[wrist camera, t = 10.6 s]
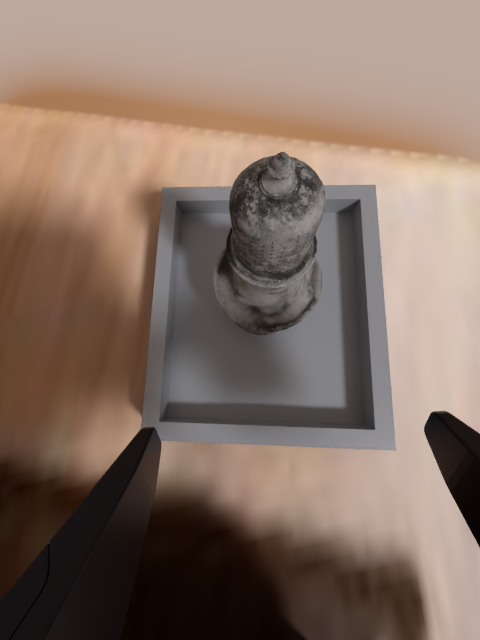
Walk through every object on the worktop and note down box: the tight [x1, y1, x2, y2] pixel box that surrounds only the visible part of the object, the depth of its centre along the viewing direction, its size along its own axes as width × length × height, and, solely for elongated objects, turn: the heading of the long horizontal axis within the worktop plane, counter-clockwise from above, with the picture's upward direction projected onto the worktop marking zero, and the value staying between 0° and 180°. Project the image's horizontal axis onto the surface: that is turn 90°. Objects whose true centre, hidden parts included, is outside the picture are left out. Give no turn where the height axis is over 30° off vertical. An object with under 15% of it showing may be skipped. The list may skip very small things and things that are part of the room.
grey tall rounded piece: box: [213, 152, 325, 336], centre depth 12 cm, size 6×6×12 cm
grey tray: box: [141, 185, 396, 451], centre depth 18 cm, size 16×14×2 cm
